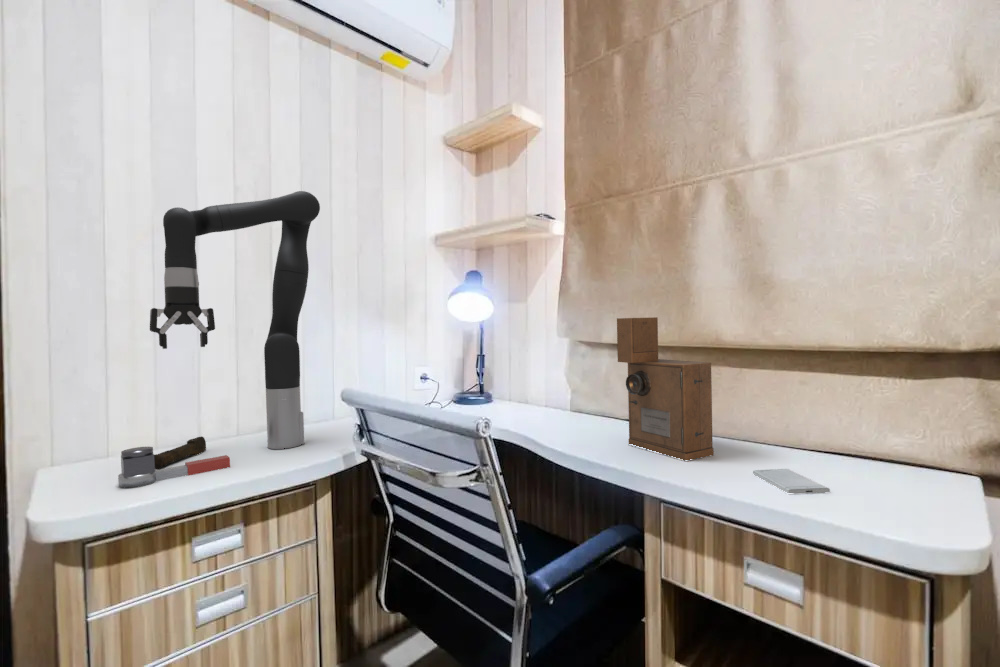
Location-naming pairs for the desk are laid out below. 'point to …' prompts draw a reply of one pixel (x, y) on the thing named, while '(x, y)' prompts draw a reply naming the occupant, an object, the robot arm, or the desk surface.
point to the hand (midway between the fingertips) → (184, 347)
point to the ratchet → (175, 472)
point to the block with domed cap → (137, 461)
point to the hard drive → (790, 481)
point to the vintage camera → (664, 394)
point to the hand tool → (180, 452)
